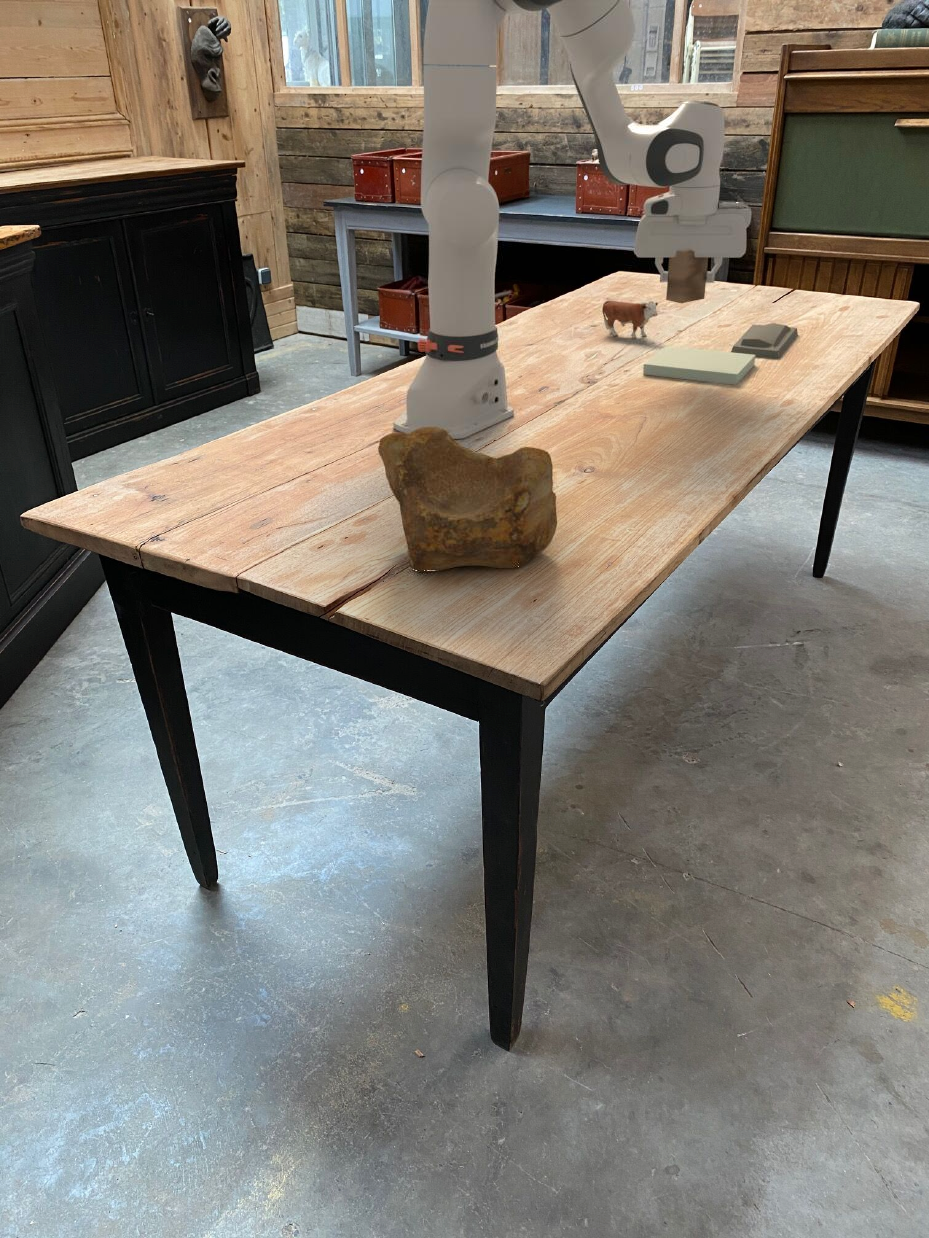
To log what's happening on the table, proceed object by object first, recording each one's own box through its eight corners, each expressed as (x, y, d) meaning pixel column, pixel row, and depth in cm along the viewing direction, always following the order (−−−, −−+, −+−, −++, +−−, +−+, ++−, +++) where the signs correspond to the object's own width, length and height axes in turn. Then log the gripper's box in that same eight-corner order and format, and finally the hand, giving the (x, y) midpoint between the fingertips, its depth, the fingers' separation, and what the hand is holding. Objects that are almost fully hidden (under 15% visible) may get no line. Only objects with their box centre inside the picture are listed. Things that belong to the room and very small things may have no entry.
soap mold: (798, 337, 203) (800, 321, 202) (779, 361, 188) (781, 344, 187) (750, 333, 208) (752, 316, 206) (727, 356, 193) (729, 339, 191)
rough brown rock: (344, 577, 116) (330, 469, 108) (400, 514, 129) (392, 412, 120) (520, 613, 109) (520, 501, 100) (562, 542, 121) (565, 437, 113)
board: (736, 385, 174) (737, 374, 173) (643, 374, 182) (643, 364, 181) (754, 365, 185) (755, 354, 184) (665, 355, 192) (666, 346, 191)
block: (681, 303, 176) (685, 251, 171) (666, 300, 179) (669, 248, 174) (704, 298, 178) (709, 247, 174) (689, 295, 181) (693, 244, 176)
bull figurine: (652, 342, 201) (655, 303, 197) (598, 334, 209) (599, 296, 204) (662, 338, 204) (665, 299, 200) (608, 330, 211) (609, 292, 207)
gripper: (751, 199, 170) (742, 279, 177) (637, 200, 174) (633, 278, 181) (753, 204, 165) (744, 286, 172) (636, 205, 169) (631, 285, 176)
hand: (686, 282), depth 177 cm, fingers closed on block, 7 cm apart
